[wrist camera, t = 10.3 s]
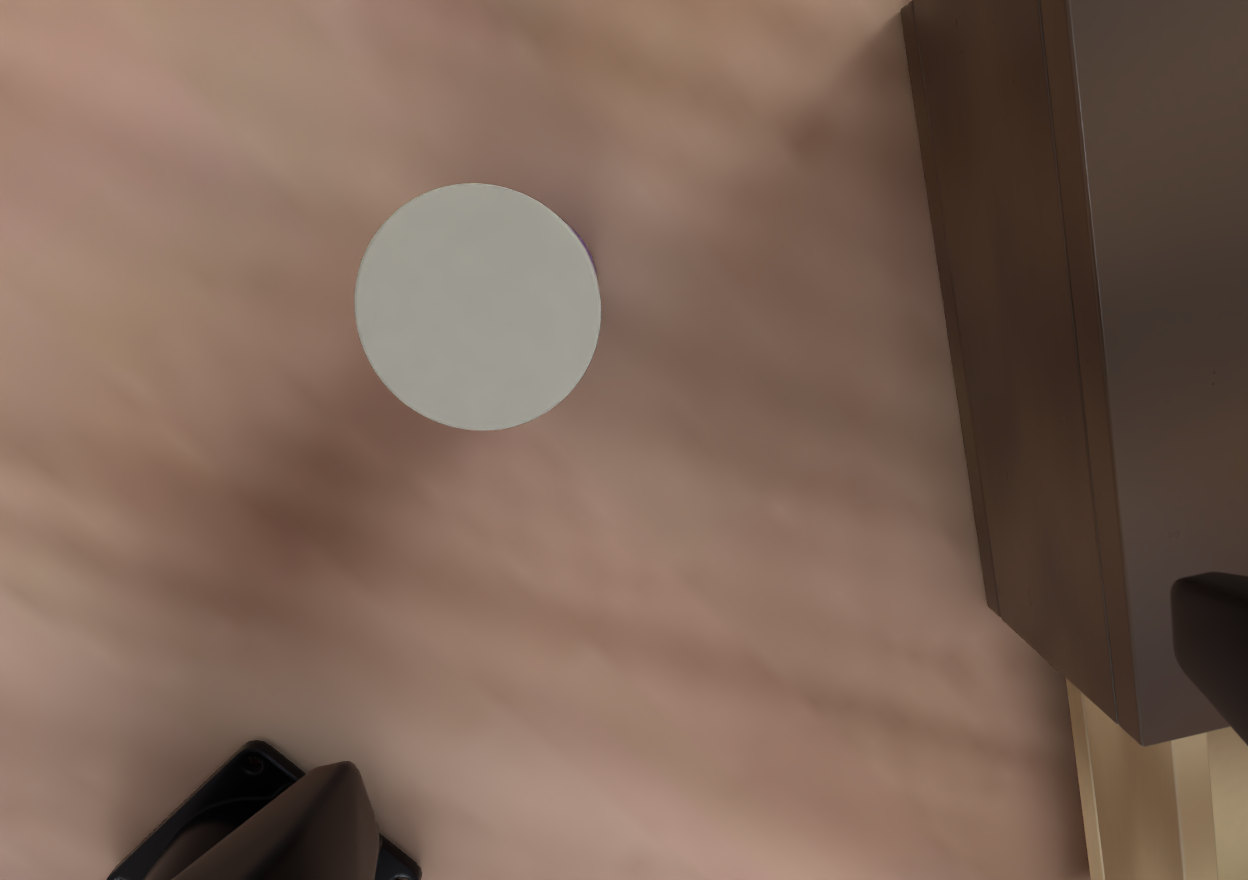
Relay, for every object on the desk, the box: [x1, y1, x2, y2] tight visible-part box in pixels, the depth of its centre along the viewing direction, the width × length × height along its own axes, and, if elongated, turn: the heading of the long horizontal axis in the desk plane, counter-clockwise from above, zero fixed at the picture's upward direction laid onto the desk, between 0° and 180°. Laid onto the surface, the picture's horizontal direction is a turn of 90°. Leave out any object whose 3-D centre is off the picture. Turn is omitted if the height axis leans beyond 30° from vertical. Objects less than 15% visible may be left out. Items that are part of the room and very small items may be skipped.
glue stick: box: [354, 183, 601, 431], centre depth 16 cm, size 4×4×8 cm
